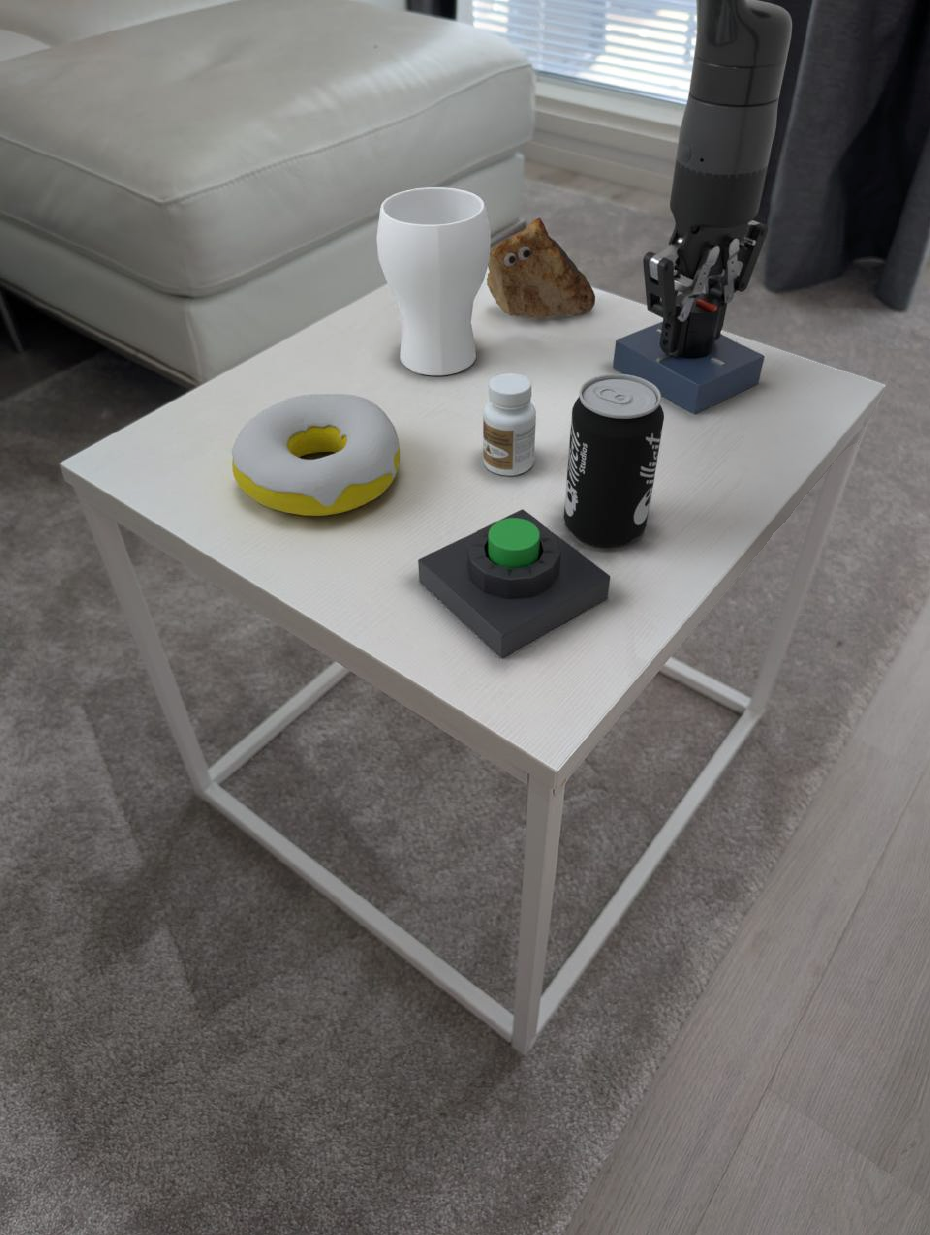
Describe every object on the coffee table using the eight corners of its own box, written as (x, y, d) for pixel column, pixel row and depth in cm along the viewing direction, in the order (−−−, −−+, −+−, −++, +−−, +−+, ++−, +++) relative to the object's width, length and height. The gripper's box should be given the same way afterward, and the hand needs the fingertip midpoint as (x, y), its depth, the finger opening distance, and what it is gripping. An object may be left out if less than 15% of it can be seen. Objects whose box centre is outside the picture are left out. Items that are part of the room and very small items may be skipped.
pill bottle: (472, 461, 79) (472, 381, 74) (510, 442, 81) (512, 364, 76) (506, 483, 77) (508, 403, 72) (544, 464, 79) (548, 384, 74)
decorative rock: (492, 333, 96) (493, 230, 89) (477, 308, 100) (477, 208, 93) (599, 318, 98) (608, 216, 91) (580, 294, 102) (587, 195, 95)
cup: (496, 335, 96) (497, 186, 85) (482, 387, 88) (483, 231, 78) (397, 329, 97) (387, 182, 87) (376, 380, 90) (362, 225, 79)
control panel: (612, 367, 91) (615, 338, 89) (675, 341, 94) (680, 312, 92) (694, 414, 84) (699, 384, 82) (758, 383, 88) (765, 354, 86)
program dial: (656, 345, 88) (663, 297, 84) (688, 332, 89) (696, 284, 86) (690, 363, 85) (699, 314, 82) (722, 349, 87) (732, 301, 84)
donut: (327, 416, 85) (320, 367, 81) (436, 470, 78) (434, 420, 75) (207, 484, 77) (194, 434, 74) (317, 551, 71) (308, 499, 67)
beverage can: (618, 564, 69) (638, 429, 61) (547, 532, 72) (555, 399, 64) (660, 521, 73) (683, 388, 65) (590, 492, 76) (604, 361, 68)
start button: (517, 530, 67) (518, 511, 66) (549, 555, 65) (550, 536, 63) (478, 549, 65) (478, 530, 64) (509, 576, 63) (510, 557, 62)
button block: (522, 530, 72) (523, 489, 70) (608, 598, 67) (613, 557, 64) (418, 581, 68) (416, 540, 65) (501, 658, 62) (502, 617, 60)
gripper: (696, 187, 70) (665, 385, 82) (815, 148, 76) (769, 338, 88) (628, 161, 74) (608, 353, 86) (745, 127, 80) (711, 310, 92)
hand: (690, 344), depth 87 cm, fingers closed on program dial, 4 cm apart
